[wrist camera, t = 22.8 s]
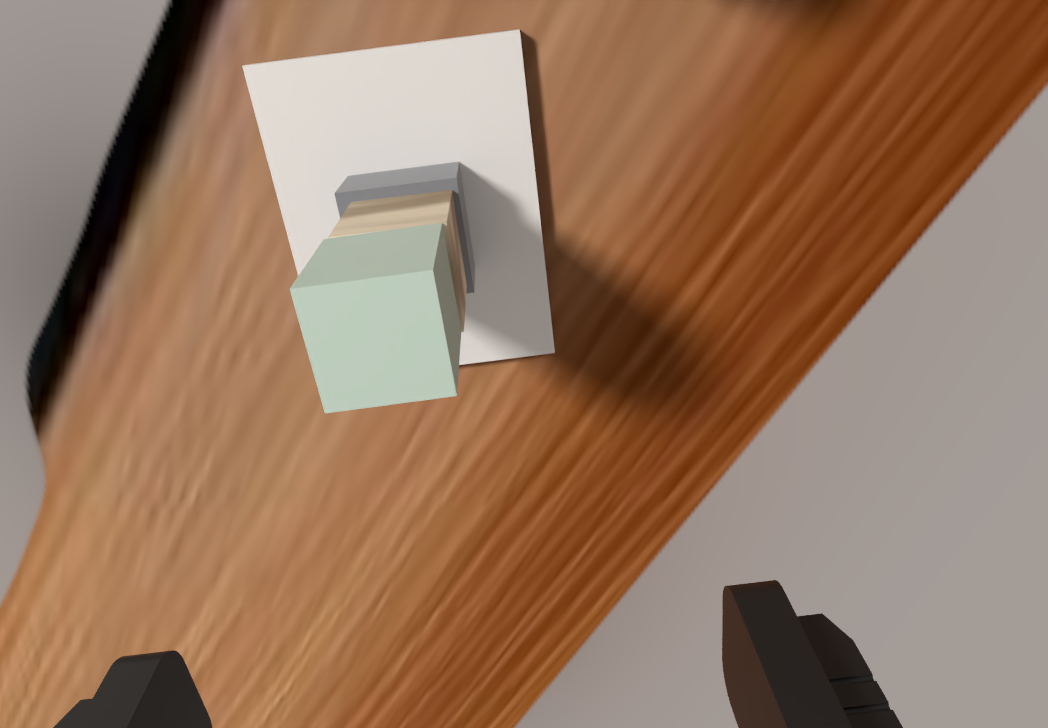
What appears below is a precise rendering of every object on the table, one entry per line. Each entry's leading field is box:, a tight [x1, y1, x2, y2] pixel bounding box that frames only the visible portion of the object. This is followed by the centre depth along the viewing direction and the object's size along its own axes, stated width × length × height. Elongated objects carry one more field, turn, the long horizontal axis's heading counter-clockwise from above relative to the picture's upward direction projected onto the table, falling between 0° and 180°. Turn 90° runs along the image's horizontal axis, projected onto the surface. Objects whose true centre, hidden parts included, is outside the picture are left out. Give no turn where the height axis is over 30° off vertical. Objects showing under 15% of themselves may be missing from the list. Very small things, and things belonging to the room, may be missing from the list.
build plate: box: [242, 29, 555, 365], centre depth 40 cm, size 18×14×5 cm
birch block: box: [328, 190, 467, 332], centre depth 35 cm, size 5×5×6 cm
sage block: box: [290, 223, 461, 413], centre depth 29 cm, size 5×5×6 cm
